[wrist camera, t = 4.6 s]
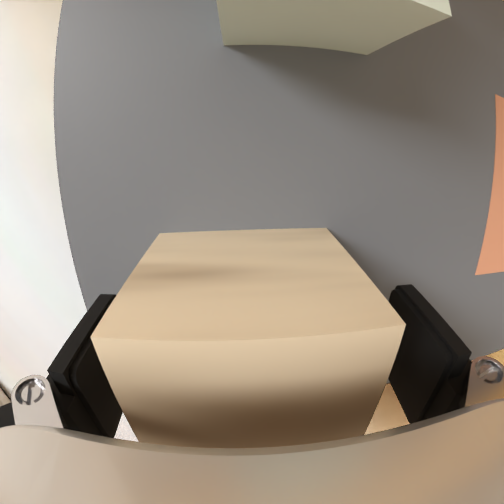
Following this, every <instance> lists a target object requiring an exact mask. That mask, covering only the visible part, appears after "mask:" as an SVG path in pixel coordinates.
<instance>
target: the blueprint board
mask: <svg viewBox="0 0 504 504" xmlns="http://www.w3.org/2000/svg"><path fill="white" fill-rule="evenodd" d="M449 4H450V9H451V14H452V17H449V18H447V19H444V20H442V21H439V22H437V23H434V24H432V25H430V26H427V27H425V28H423V29H420V30H418V31H416V32H414V33H411V34H409V35H407V36H405V37H403V38H401V39H398V40H396V41H394V42H392V43H390V44H388V45H386V46H384V47H382V48H380V49H378V50H376V51H374V52H372V53H370V54H368V55H364V54H358V53H352V52H346V51H338V50H331V49H322V48H312V47H300V46H283V45H225V46H224V45H223V39H222V33H221V27H220V20H219V14H218V8H217V2H216V0H63V3H62V8H61V14H60V21H59V28H58V37H57V46H56V58H55V75H54V129H55V146H56V159H57V169H58V178H59V186H60V194H61V200H62V207H63V213H64V219H65V224H66V229H67V234H68V239H69V244H70V249H71V253H72V257H73V261H74V266H75V270H76V273H77V277H78V281H79V285H80V288H81V292H82V295H83V299H84V302H85V305H86V308H87V311H88V310H89V308H90V307H91V306H92V304H93V303H94V302H95V300H96V299H97V298H98V296H99V295H100V294H116V295H117V294H118V292H119V291H120V289H121V288H122V286H123V285H124V283H125V282H126V280H127V279H128V277H129V276H130V274H131V273H132V271H133V270H134V268H135V267H136V266H137V264H138V263H139V261H140V260H141V258H142V257H143V256H144V254H145V253H146V251H147V250H148V249H149V247H150V246H151V244H152V243H153V242H154V240H155V239H156V237H157V236H158V235H159V233H176V232H199V231H225V230H255V229H291V228H327V229H328V230H329V231H330V233H331V234H332V235H333V236H334V237H335V238H336V239H337V240H338V242H339V243H340V244H341V245H342V246H343V247H344V249H345V250H346V251H347V252H348V253H349V254H350V256H351V257H352V258H353V259H354V260H355V261H356V263H357V264H358V265H359V266H360V267H361V269H362V270H363V271H364V272H365V273H366V275H367V276H368V277H369V278H370V279H371V281H372V282H373V283H374V284H375V286H376V287H377V288H378V289H379V291H380V292H381V293H382V294H383V296H384V297H385V298H386V299H387V301H388V302H389V298H390V293H391V291H392V290H394V289H395V287H396V286H397V285H407V284H412V285H413V286H414V287H415V288H416V289H417V290H418V291H419V292H420V293H421V294H422V295H423V297H424V298H425V299H426V300H427V301H428V302H429V303H430V304H431V305H432V306H433V307H434V309H435V310H436V311H437V312H438V313H439V314H440V315H441V316H442V318H443V319H444V320H445V321H446V322H447V323H448V324H449V326H450V327H451V328H452V329H453V330H454V331H455V333H456V334H457V335H458V336H459V337H460V339H461V340H462V341H463V342H464V343H465V345H466V346H467V347H468V348H469V350H470V351H471V352H472V354H471V356H470V358H469V359H470V360H471V361H472V360H474V359H475V358H477V357H481V356H486V355H489V354H491V353H494V352H496V351H499V350H502V349H504V1H503V0H449ZM387 383H390V381H389V379H388V380H387V382H386V384H387Z"/></svg>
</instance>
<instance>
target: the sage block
mask: <svg viewBox="0 0 504 504" xmlns="http://www.w3.org/2000/svg"><path fill="white" fill-rule="evenodd" d="M216 2H217V8H218V14H219V20H220V27H221V33H222V39H223V45H224V46H225V45H283V46H300V47H312V48H322V49H331V50H338V51H346V52H352V53H358V54H364V55H368V54H370V53H372V52H374V51H376V50H378V49H380V48H382V47H384V46H386V45H388V44H390V43H392V42H394V41H396V40H398V39H401V38H403V37H405V36H407V35H409V34H411V33H414V32H416V31H418V30H420V29H423V28H425V27H427V26H430V25H432V24H434V23H437V22H439V21H442V20H444V19H447V18H449V17H452V14H451V9H450V4H449V0H216Z"/></svg>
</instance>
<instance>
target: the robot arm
mask: <svg viewBox="0 0 504 504" xmlns="http://www.w3.org/2000/svg"><path fill="white" fill-rule="evenodd" d="M115 297H116V294H100V295H99V296H98V298H97V299H96V300H95V302H94V303H93V304H92V306H91V307H90V308H89V310H88V311H87V312H86V314H85V315H84V317H83V318H82V319H81V321H80V322H79V324H78V325H77V327H76V328H75V329H74V331H73V332H72V334H71V335H70V337H69V338H68V340H67V341H66V342H65V344H64V345H63V347H62V348H61V350H60V351H59V353H58V354H57V356H56V358H55V359H54V361H53V362H52V364H51V365H50V367H49V368H48V370H47V371H48V373H49V375H48V377H47V378H45V377H43V376H40V375H30V376H27V377H25V378H23V379H21V380H20V381H19V382H17V384H16V385H15V386H14V388H13V390H12V393H11V400H12V402H11V401H10V400H9V398H8V397H7V396H6V395H5V393H4V392H3V391H2V389H1V388H0V504H504V366H503V365H502V364H501V363H500V362H499V361H497V360H496V359H494V358H491V357H487V356H481V357H477V358H475V359H474V360H473V361H471V360H470V359H469V358H470V356H471V354H472V352H471V351H470V350H469V348H468V347H467V346H466V345H465V343H464V342H463V341H462V340H461V339H460V337H459V336H458V335H457V334H456V333H455V331H454V330H453V329H452V328H451V327H450V326H449V324H448V323H447V322H446V321H445V320H444V319H443V318H442V316H441V315H440V314H439V313H438V312H437V311H436V310H435V309H434V307H433V306H432V305H431V304H430V303H429V302H428V301H427V300H426V299H425V298H424V297H423V295H422V294H421V293H420V292H419V291H418V290H417V289H416V288H415V287H414V286H413V285H412V284H407V285H397V286H396V287H395V289H394V290H392V291H391V293H390V298H389V303H390V304H391V306H392V307H393V308H394V309H395V311H396V312H397V313H398V315H399V316H400V317H401V319H402V320H403V321H404V322H405V324H406V326H405V330H404V333H403V336H402V339H401V343H400V346H399V349H398V352H397V355H396V358H395V361H394V363H393V366H392V369H391V372H390V374H389V377H388V379H389V381H390V383H391V385H392V387H393V390H394V392H395V394H396V396H397V398H398V400H399V402H400V404H401V406H402V408H403V410H404V412H405V415H406V417H407V419H408V421H409V423H410V424H408V425H405V426H401V427H397V428H393V429H389V430H385V431H381V432H376V433H372V434H367V435H362V436H357V437H351V438H345V439H339V440H333V441H326V442H319V443H311V444H302V445H292V446H279V447H263V448H198V447H181V446H169V445H159V444H150V443H142V442H135V441H128V440H121V439H115V438H114V436H115V434H116V430H117V427H118V424H119V421H120V418H121V415H122V412H123V411H122V409H121V407H120V405H119V403H118V401H117V399H116V397H115V394H114V392H113V390H112V388H111V386H110V384H109V381H108V379H107V377H106V375H105V372H104V370H103V368H102V365H101V363H100V360H99V358H98V355H97V353H96V350H95V348H94V345H93V343H92V340H91V335H92V333H93V332H94V330H95V328H96V327H97V325H98V324H99V322H100V320H101V319H102V317H103V316H104V314H105V312H106V311H107V309H108V308H109V306H110V305H111V303H112V301H113V300H114V298H115Z"/></svg>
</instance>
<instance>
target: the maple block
mask: <svg viewBox="0 0 504 504" xmlns="http://www.w3.org/2000/svg"><path fill="white" fill-rule="evenodd" d="M405 326H406V324H405V322H404V321H403V320H402V319H401V317H400V316H399V315H398V313H397V312H396V311H395V309H394V308H393V307H392V306H391V304H390V303H389V302H388V301H387V299H386V298H385V297H384V296H383V294H382V293H381V292H380V291H379V289H378V288H377V287H376V286H375V284H374V283H373V282H372V281H371V279H370V278H369V277H368V276H367V275H366V273H365V272H364V271H363V270H362V269H361V267H360V266H359V265H358V264H357V263H356V261H355V260H354V259H353V258H352V257H351V256H350V254H349V253H348V252H347V251H346V250H345V249H344V247H343V246H342V245H341V244H340V243H339V242H338V240H337V239H336V238H335V237H334V236H333V235H332V234H331V233H330V231H329V230H328V229H327V228H291V229H255V230H225V231H199V232H176V233H159V235H158V236H157V237H156V239H155V240H154V242H153V243H152V244H151V246H150V247H149V249H148V250H147V251H146V253H145V254H144V256H143V257H142V258H141V260H140V261H139V263H138V264H137V266H136V267H135V268H134V270H133V271H132V273H131V274H130V276H129V277H128V279H127V280H126V282H125V283H124V285H123V286H122V288H121V289H120V291H119V292H118V294H117V295H116V297H115V298H114V300H113V301H112V303H111V305H110V306H109V308H108V309H107V311H106V312H105V314H104V316H103V317H102V319H101V320H100V322H99V324H98V325H97V327H96V328H95V330H94V332H93V333H92V335H91V340H92V343H93V345H94V348H95V350H96V353H97V355H98V358H99V360H100V363H101V365H102V368H103V370H104V372H105V375H106V377H107V379H108V381H109V384H110V386H111V388H112V390H113V392H114V394H115V397H116V399H117V401H118V403H119V405H120V407H121V409H122V411H123V413H124V415H125V417H126V419H127V421H128V422H129V424H130V426H131V428H132V430H133V432H134V434H135V435H136V437H137V439H138V441H139V442H142V443H150V444H159V445H169V446H181V447H198V448H263V447H279V446H292V445H302V444H311V443H319V442H326V441H333V440H339V439H345V438H351V437H357V436H362V435H364V434H365V432H366V429H367V427H368V425H369V423H370V421H371V419H372V416H373V414H374V412H375V409H376V407H377V405H378V402H379V400H380V398H381V395H382V393H383V390H384V388H385V385H386V382H387V380H388V377H389V374H390V372H391V369H392V366H393V363H394V361H395V358H396V355H397V352H398V349H399V346H400V343H401V339H402V336H403V333H404V330H405Z"/></svg>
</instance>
